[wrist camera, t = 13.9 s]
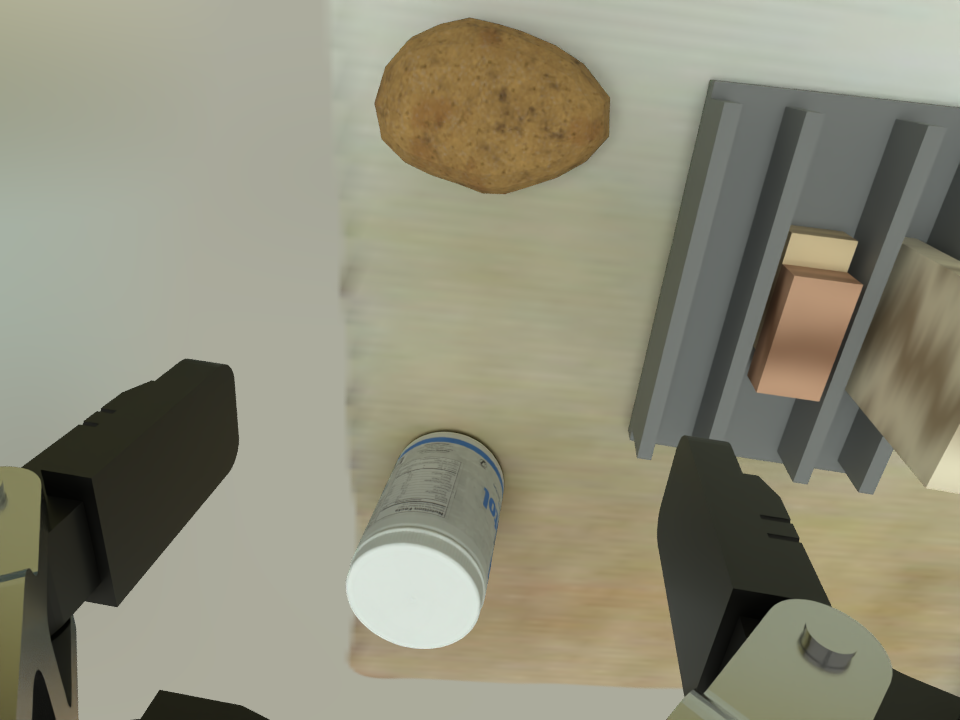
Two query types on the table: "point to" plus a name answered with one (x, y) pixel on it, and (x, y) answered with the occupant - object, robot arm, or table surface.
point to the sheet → (916, 365)
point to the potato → (490, 107)
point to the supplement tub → (429, 543)
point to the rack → (757, 251)
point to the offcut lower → (813, 254)
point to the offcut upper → (803, 331)
